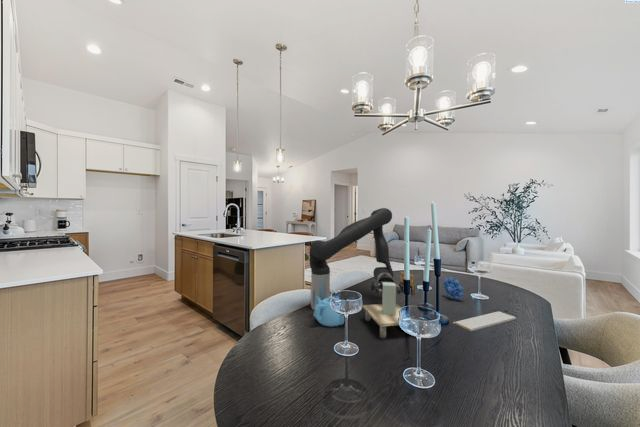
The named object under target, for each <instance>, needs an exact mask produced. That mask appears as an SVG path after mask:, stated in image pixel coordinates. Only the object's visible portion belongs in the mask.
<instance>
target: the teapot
mask: <svg viewBox="0 0 640 427" xmlns="http://www.w3.org/2000/svg"><path fill="white" fill-rule="evenodd" d="M331 296H332V295H330V296H329V298H326V299H324V300H322V301H321V299H320V297H318V296H317V297H316V302H317V305H316V307H315V309H314V311H313V317H314V318H315V319H316V320H317V322H318V323H319V324H320V325H322V326H325V327H329V328H331V327H332V328H333V327H334V326H335V327H340V326H342V325H344V324H345V323H344V315H342V314H338V313H336V312H334V311H333V310H332V309H331V306H330V299H331ZM339 325H340V326H339ZM335 327H334V328H335Z"/></svg>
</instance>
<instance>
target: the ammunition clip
mask: <svg viewBox="0 0 640 427" xmlns="http://www.w3.org/2000/svg"><path fill="white" fill-rule="evenodd" d="M404 273H405V270H404V271H402V270H401V271H400V277H399V279H400V280H399V283H402V285H403V279H404ZM409 274H410V288H411V294H416V293H415V280H414V274H413V273H409ZM411 294H410V295H411Z"/></svg>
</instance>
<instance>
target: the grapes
mask: <svg viewBox="0 0 640 427" xmlns="http://www.w3.org/2000/svg"><path fill="white" fill-rule="evenodd" d="M443 281H444V283H442V288H444V294H446V295H447V296H449V298H450V299H451V300H456V301H460V300H461V298H463V297H464V295H465V294H464V292H463V291H464V287H463V286H462V285H461V284H460V281H459V280H458V279H454V278H453V277H452V276H449V277H448V278H444V280H443Z"/></svg>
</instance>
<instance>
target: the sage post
mask: <svg viewBox="0 0 640 427" xmlns="http://www.w3.org/2000/svg"><path fill="white" fill-rule="evenodd" d="M395 284H396V283H395V282H394V283H390V282H383V287H382V291H381V293H382V296H381V298H382V300H381V301H382V303H381V304H382V311H383V314H384V315H396V304H397V302H396V301H397V295H396V294H397V292H396V285H397V284H396V285H395Z"/></svg>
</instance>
